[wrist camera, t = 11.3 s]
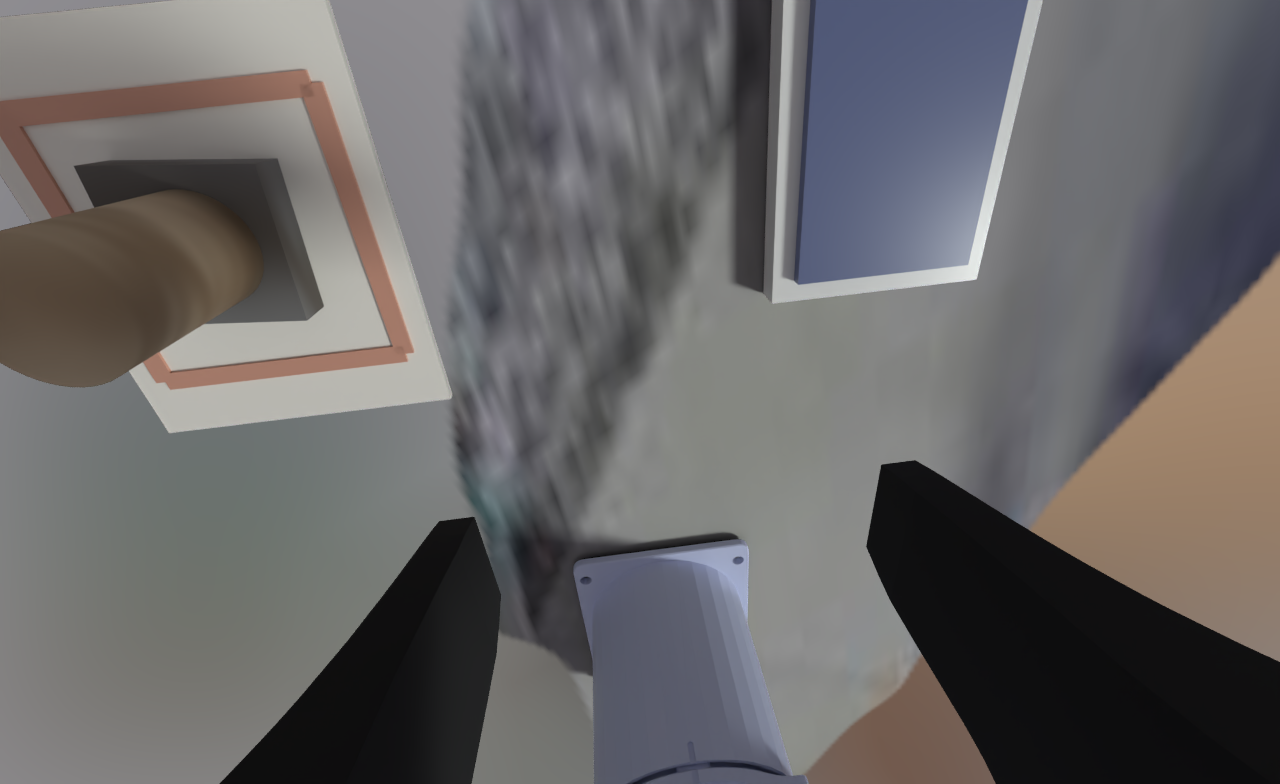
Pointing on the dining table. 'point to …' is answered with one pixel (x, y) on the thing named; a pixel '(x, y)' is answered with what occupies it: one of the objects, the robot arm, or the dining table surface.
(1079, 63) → the dining table surface
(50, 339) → the stamp
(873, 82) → the ink pad
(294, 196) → the sheet
